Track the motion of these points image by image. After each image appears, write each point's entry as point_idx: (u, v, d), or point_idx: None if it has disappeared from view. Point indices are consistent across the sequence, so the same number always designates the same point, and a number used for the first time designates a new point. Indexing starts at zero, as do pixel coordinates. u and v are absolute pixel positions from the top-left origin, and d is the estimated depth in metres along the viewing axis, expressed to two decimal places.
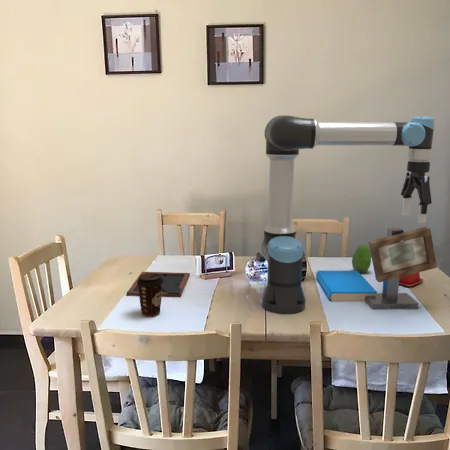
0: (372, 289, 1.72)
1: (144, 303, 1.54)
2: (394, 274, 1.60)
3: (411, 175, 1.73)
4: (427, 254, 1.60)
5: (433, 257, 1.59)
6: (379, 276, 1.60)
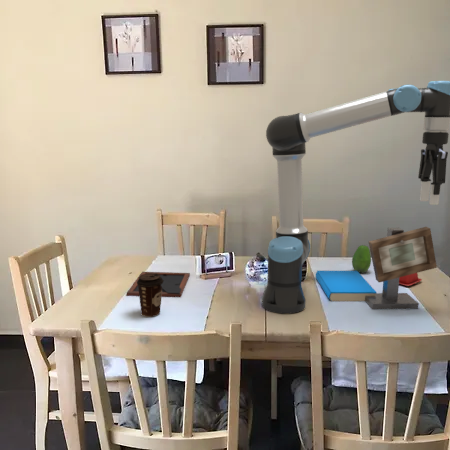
0: (371, 289, 1.72)
1: (144, 303, 1.54)
2: (394, 274, 1.60)
3: (427, 148, 1.55)
4: (427, 254, 1.60)
5: (433, 257, 1.59)
6: (379, 276, 1.60)
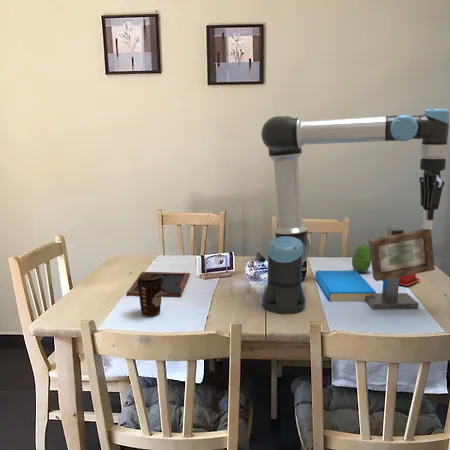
0: (371, 289, 1.72)
1: (144, 303, 1.54)
2: (392, 274, 1.60)
3: (424, 173, 1.57)
4: (426, 256, 1.60)
5: (432, 259, 1.59)
6: (377, 275, 1.60)
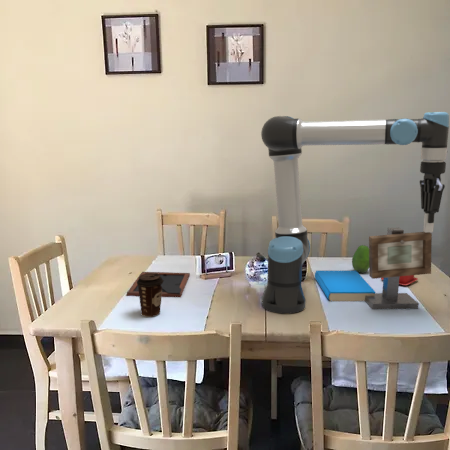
0: (370, 289, 1.72)
1: (144, 303, 1.54)
2: (388, 273, 1.60)
3: (424, 176, 1.57)
4: (424, 259, 1.60)
5: (429, 262, 1.59)
6: (373, 272, 1.60)
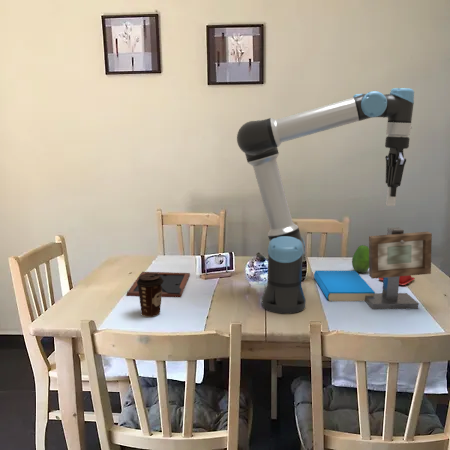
0: (370, 289, 1.72)
1: (144, 303, 1.54)
2: (388, 273, 1.60)
3: (389, 151, 1.63)
4: (424, 259, 1.60)
5: (429, 263, 1.59)
6: (373, 272, 1.60)
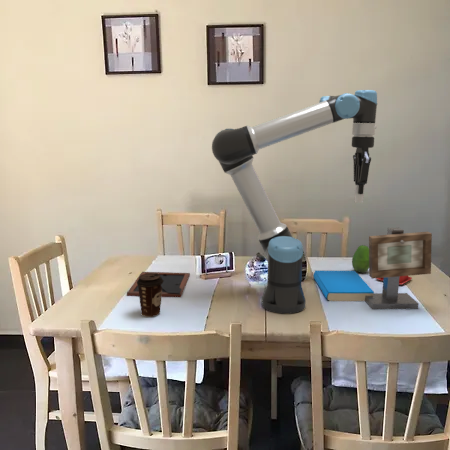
0: (369, 289, 1.72)
1: (144, 303, 1.54)
2: (388, 273, 1.60)
3: (356, 150, 1.70)
4: (424, 259, 1.60)
5: (429, 263, 1.59)
6: (373, 272, 1.60)
